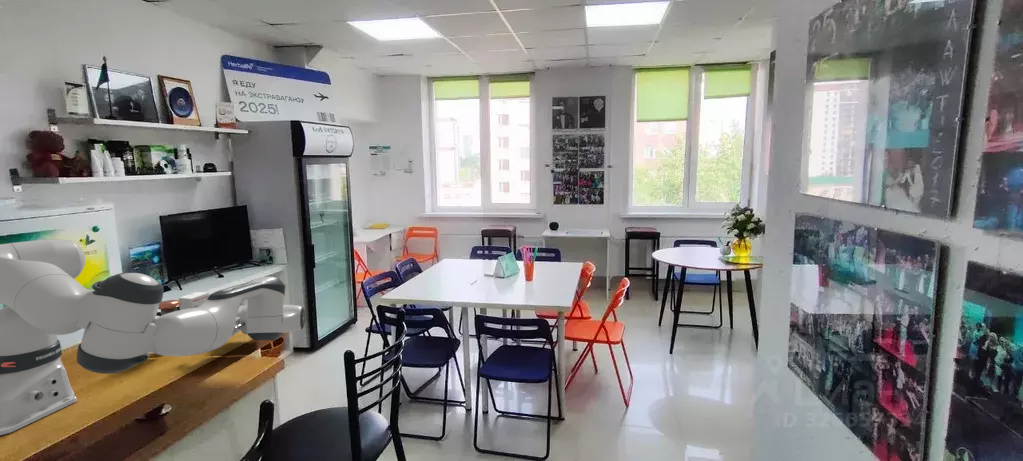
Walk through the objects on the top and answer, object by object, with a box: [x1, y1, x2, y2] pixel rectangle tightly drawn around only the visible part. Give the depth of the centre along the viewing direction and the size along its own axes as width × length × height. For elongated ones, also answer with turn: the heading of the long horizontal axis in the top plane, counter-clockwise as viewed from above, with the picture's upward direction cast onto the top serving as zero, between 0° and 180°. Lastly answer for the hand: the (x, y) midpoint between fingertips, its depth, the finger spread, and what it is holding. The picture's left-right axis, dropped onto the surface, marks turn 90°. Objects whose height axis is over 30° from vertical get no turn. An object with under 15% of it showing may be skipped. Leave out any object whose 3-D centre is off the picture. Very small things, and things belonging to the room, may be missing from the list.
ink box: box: [178, 291, 210, 310], centre depth 170 cm, size 9×5×12 cm, turn 171°
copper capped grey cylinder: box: [158, 299, 180, 316], centre depth 150 cm, size 6×6×14 cm
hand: (205, 320), depth 150 cm, fingers open, 8 cm apart
